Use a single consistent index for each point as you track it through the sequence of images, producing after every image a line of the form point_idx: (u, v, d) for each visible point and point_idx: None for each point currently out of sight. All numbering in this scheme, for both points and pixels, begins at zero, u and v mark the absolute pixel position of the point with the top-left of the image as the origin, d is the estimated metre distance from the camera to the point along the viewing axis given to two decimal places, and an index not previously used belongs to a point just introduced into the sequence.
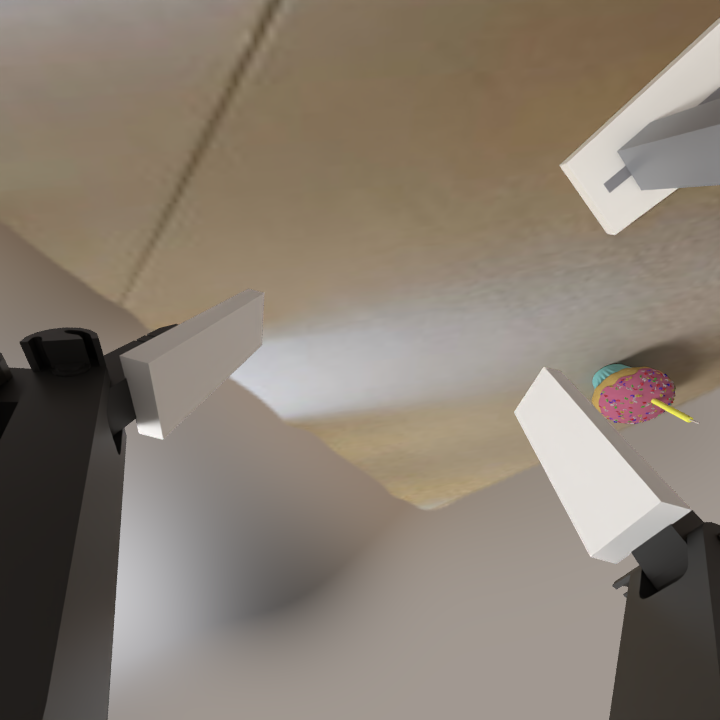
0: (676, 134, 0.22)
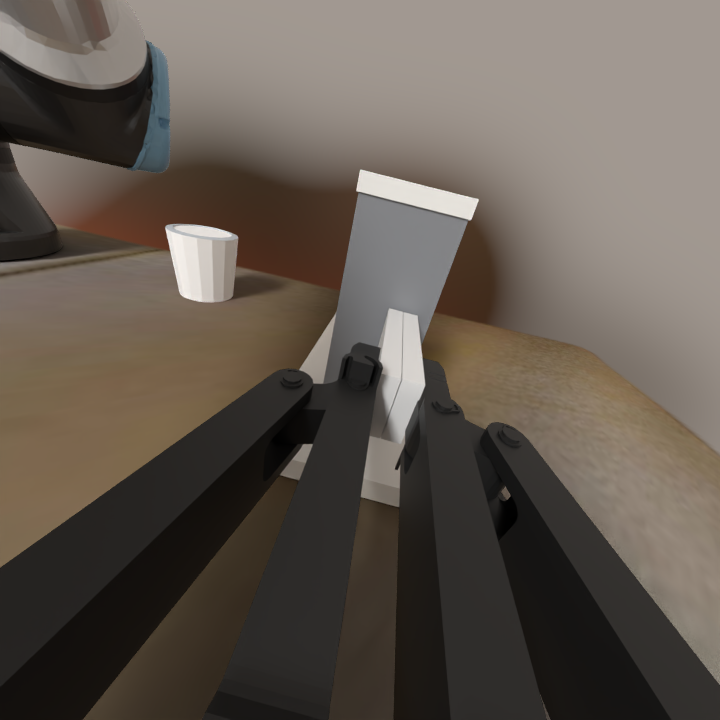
0: (339, 298, 0.15)
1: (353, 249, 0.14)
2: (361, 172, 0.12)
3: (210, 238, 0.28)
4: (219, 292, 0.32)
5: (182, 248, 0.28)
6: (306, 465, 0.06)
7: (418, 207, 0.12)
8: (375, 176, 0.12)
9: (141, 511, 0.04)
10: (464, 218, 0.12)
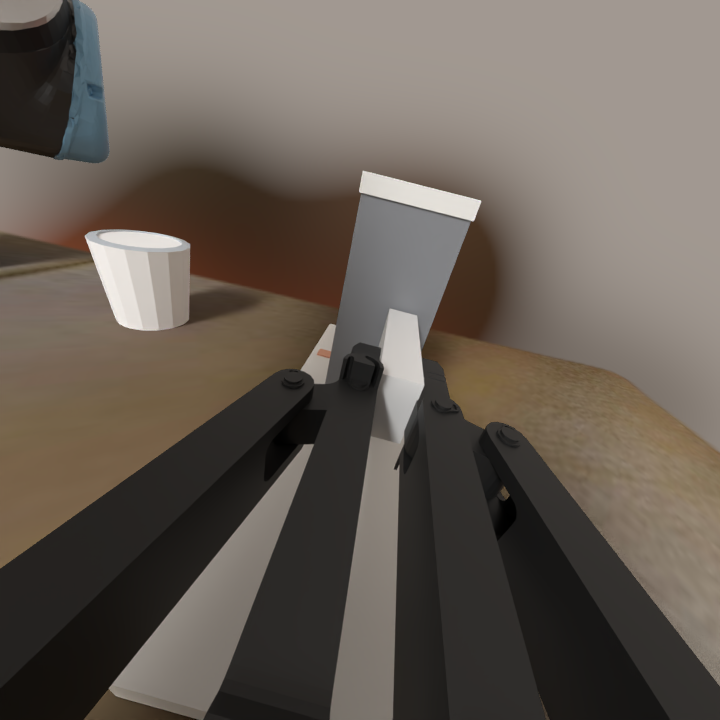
0: (341, 299, 0.15)
1: (355, 250, 0.14)
2: (364, 173, 0.12)
3: (145, 249, 0.21)
4: (166, 317, 0.24)
5: (107, 263, 0.21)
6: (307, 465, 0.06)
7: (421, 208, 0.12)
8: (378, 177, 0.12)
9: (141, 513, 0.04)
10: (466, 219, 0.12)
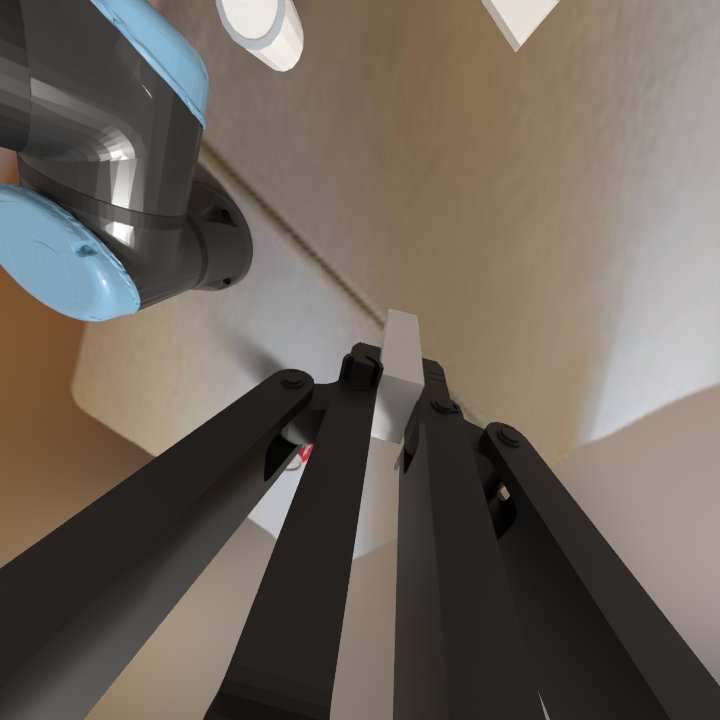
0: None
1: None
2: None
3: None
4: (298, 19, 0.30)
5: (282, 39, 0.28)
6: (307, 465, 0.06)
7: None
8: None
9: (142, 512, 0.04)
10: None
